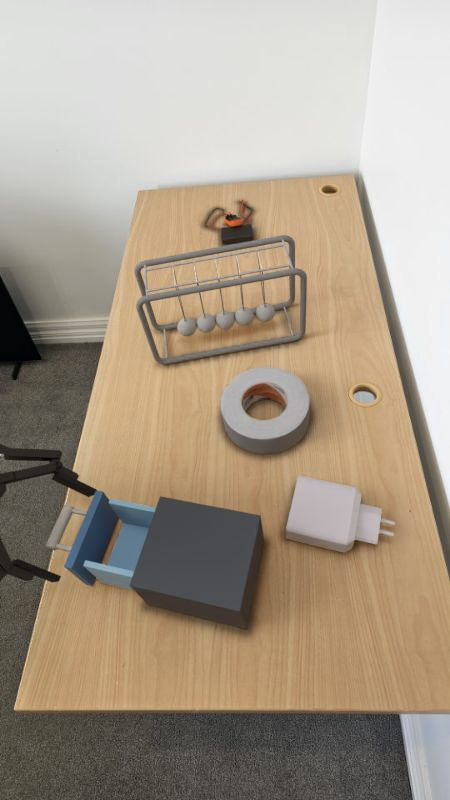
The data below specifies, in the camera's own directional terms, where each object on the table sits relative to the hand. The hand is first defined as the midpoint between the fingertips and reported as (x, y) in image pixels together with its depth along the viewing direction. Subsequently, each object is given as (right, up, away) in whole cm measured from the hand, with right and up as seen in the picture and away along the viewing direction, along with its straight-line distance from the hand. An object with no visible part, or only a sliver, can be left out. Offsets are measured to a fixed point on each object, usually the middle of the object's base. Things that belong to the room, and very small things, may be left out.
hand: (76, 534), depth 74 cm
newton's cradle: (+23, +33, +27) cm, 49 cm away
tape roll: (+30, +17, +15) cm, 37 cm away
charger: (+40, +1, +2) cm, 40 cm away
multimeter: (+23, +64, +49) cm, 84 cm away
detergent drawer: (+7, -3, +2) cm, 8 cm away
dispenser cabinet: (+20, -6, 0) cm, 20 cm away
